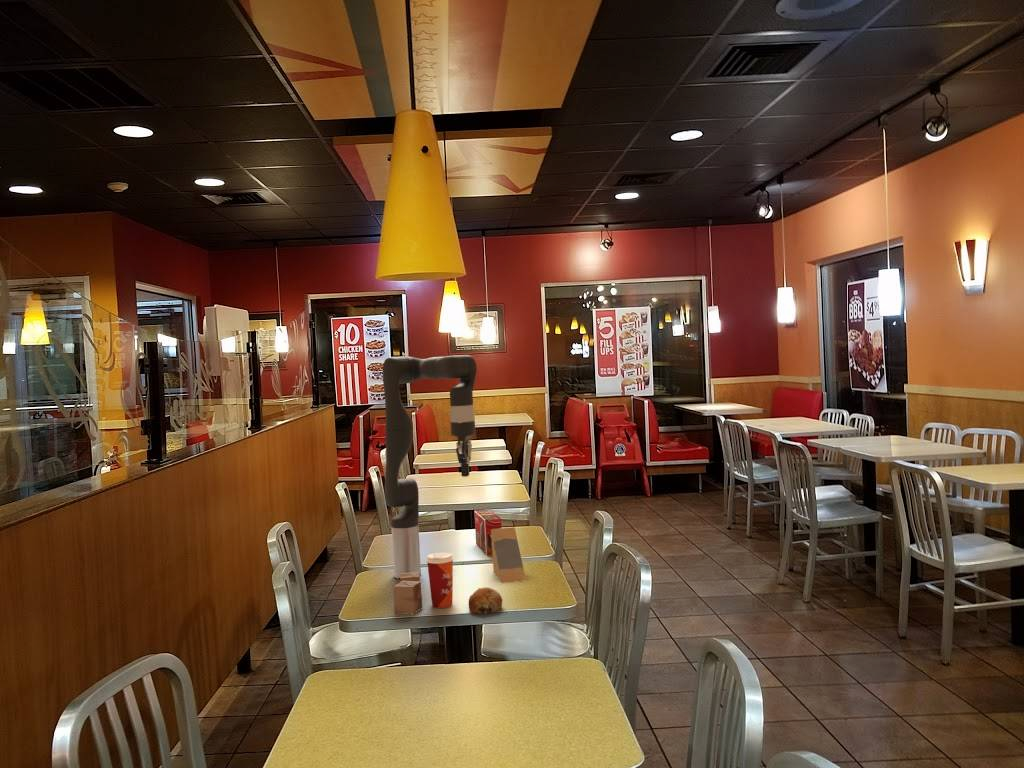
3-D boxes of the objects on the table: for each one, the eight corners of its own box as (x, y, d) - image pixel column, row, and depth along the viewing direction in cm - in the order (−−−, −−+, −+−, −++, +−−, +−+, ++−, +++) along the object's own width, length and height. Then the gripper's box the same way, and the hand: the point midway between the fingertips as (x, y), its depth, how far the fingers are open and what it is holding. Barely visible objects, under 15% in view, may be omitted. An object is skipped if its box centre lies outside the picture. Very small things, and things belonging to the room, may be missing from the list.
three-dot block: (403, 607, 246) (402, 580, 245) (422, 608, 244) (420, 580, 243) (394, 613, 240) (393, 585, 240) (413, 614, 238) (412, 586, 238)
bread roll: (506, 619, 241) (509, 591, 243) (491, 614, 232) (495, 585, 235) (476, 616, 245) (480, 589, 248) (460, 611, 236) (464, 583, 239)
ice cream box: (476, 544, 325) (474, 511, 325) (491, 542, 327) (490, 509, 326) (486, 555, 306) (484, 520, 306) (502, 553, 307) (501, 518, 307)
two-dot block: (401, 598, 255) (399, 572, 254) (420, 597, 255) (419, 571, 255) (401, 604, 249) (399, 577, 248) (420, 602, 249) (419, 576, 249)
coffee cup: (452, 609, 241) (449, 558, 240) (425, 609, 242) (422, 558, 242) (459, 601, 249) (456, 551, 248) (433, 600, 250) (430, 552, 250)
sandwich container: (501, 583, 266) (499, 537, 266) (492, 572, 281) (490, 528, 281) (527, 581, 268) (525, 535, 268) (517, 569, 283) (515, 526, 283)
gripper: (455, 418, 260) (457, 473, 260) (445, 422, 247) (449, 479, 247) (478, 418, 259) (481, 472, 259) (470, 421, 246) (473, 479, 246)
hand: (465, 476), depth 253 cm, fingers closed
